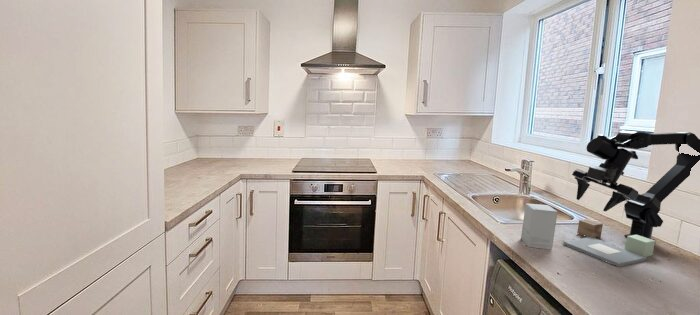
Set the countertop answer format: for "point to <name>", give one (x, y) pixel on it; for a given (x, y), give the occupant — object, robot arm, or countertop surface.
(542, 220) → the supplement box
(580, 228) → the walnut block
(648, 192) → the robot arm
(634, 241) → the sage block
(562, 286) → the countertop surface
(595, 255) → the plate
